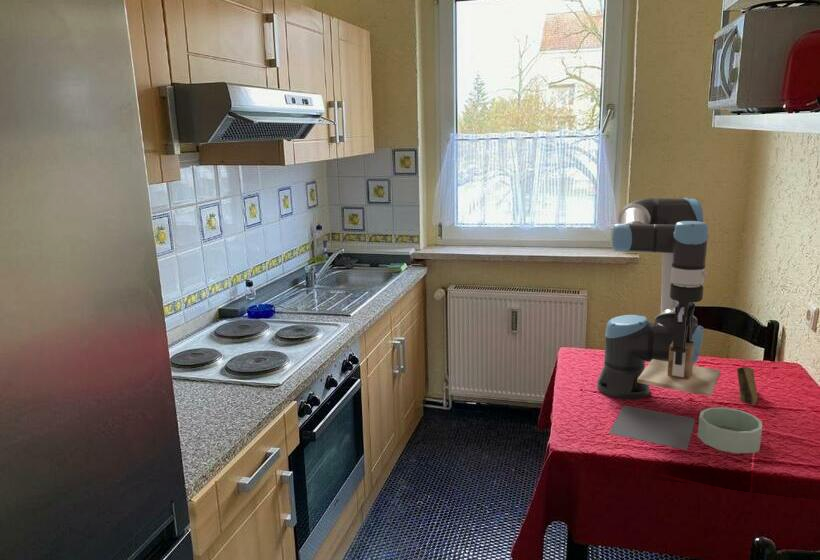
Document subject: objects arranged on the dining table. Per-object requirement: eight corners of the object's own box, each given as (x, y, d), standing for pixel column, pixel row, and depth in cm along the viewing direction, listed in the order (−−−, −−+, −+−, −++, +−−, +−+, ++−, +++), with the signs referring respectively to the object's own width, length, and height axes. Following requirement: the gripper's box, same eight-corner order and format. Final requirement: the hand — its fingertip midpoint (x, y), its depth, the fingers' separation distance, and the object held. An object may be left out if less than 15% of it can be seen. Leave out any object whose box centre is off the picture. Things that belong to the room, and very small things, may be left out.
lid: (637, 382, 156) (639, 348, 154) (652, 362, 169) (654, 331, 168) (710, 396, 146) (714, 360, 145) (720, 373, 160) (723, 340, 158)
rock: (741, 378, 189) (720, 381, 184) (761, 362, 184) (740, 364, 179) (764, 409, 183) (743, 412, 178) (786, 393, 177) (764, 396, 172)
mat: (608, 435, 161) (608, 433, 161) (623, 407, 177) (623, 405, 177) (687, 452, 152) (687, 449, 152) (695, 420, 168) (695, 418, 168)
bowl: (695, 447, 154) (697, 425, 153) (700, 424, 166) (702, 403, 165) (759, 460, 147) (761, 437, 146) (760, 435, 159) (762, 414, 158)
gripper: (697, 293, 143) (689, 386, 148) (709, 278, 158) (701, 364, 163) (663, 289, 147) (656, 380, 152) (677, 275, 162) (671, 359, 167)
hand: (680, 372), depth 158 cm, fingers closed on lid, 5 cm apart
